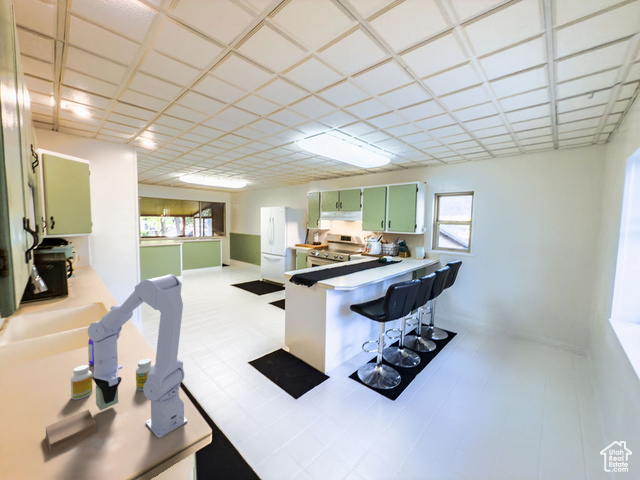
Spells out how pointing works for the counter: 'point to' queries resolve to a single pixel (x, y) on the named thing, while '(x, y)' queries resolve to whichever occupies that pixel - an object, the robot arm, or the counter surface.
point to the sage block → (100, 399)
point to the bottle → (91, 351)
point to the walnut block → (70, 430)
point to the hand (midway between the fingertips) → (107, 398)
